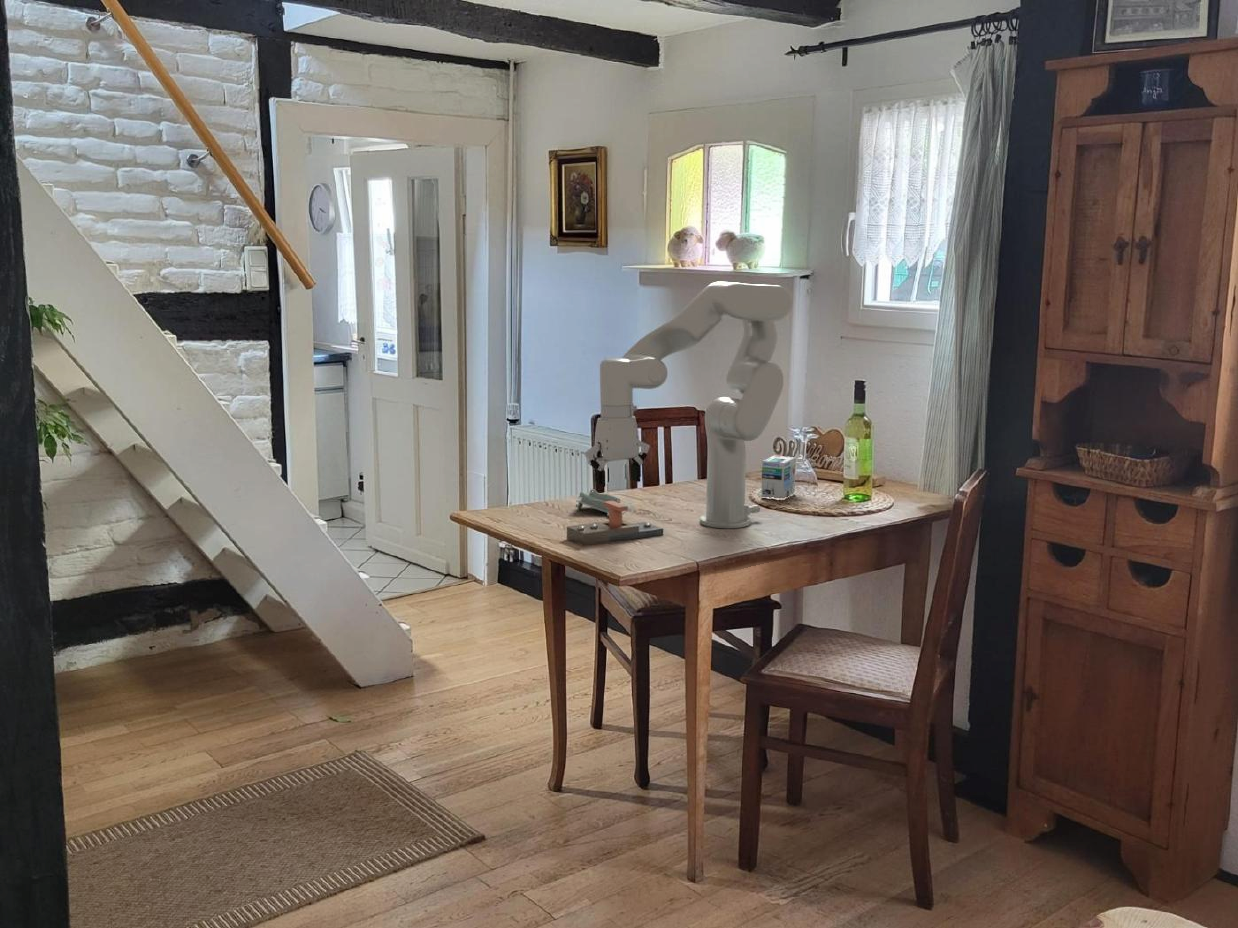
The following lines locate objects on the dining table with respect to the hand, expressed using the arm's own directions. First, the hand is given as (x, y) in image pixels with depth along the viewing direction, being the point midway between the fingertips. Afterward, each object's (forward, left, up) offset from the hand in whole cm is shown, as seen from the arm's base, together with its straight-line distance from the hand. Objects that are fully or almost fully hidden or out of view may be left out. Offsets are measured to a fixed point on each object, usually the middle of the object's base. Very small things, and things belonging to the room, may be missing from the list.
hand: (618, 483), depth 267 cm
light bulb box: (-62, -16, -13) cm, 66 cm away
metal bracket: (-11, -25, -14) cm, 31 cm away
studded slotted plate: (+1, 0, -13) cm, 13 cm away
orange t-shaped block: (+1, 0, -13) cm, 13 cm away
